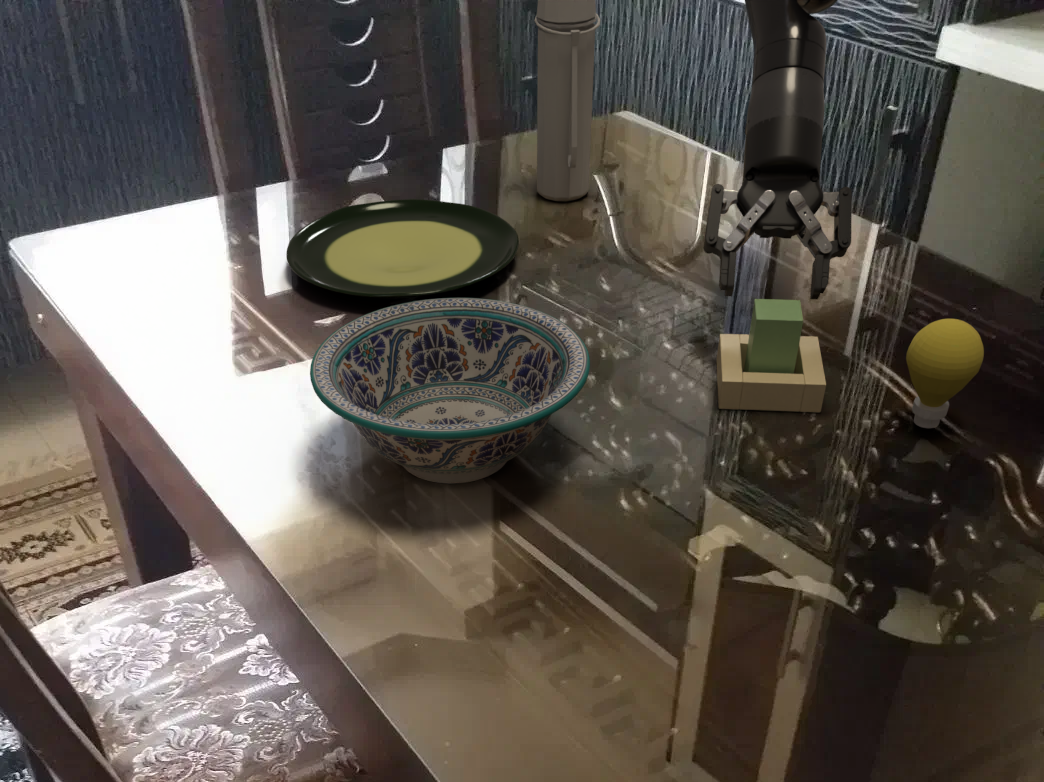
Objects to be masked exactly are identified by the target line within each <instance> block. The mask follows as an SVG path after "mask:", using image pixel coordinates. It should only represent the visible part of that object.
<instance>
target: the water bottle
mask: <svg viewBox="0 0 1044 782" xmlns="http://www.w3.org/2000/svg"><path fill="white" fill-rule="evenodd" d="M596 7H597V6H596V0H537V9H536V15H535V17H534V20H533V21H534V23H535V25H536V26H537V96H536V97H537V101H536V102H537V104H536V105H537V106H536V107H537V108H536V109H537V111H536V112H537V113H536V115H537V116H536V117H537V118H536V120H537V121H536V192H537V193H538V194H539V195H540V196H541V197H543V198H544V199H546V200H550V201H552V202H553V201H554V202H571V201H576V200H579V199H581V198H582V197H584V196H586V195H587V194H588V193H589V190H590V171H591V170H590V169H591V148H592V147H591V145H592V121H593V120H592V119H593V95H594V93H593V92H594V68H595V67H594V66H595V44H596V43H595V41H596V29H598V28H599V27H600V26H601V18H600V16H599V14H598V13H597V8H596ZM595 23H596V24H595Z"/></svg>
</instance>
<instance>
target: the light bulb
mask: <svg viewBox="0 0 1044 782" xmlns="http://www.w3.org/2000/svg"><path fill="white" fill-rule="evenodd" d="M984 355H985V348H984V344H983V341H982V337H981V335H980V334H979V332H978V331H977V330H976V328H974V327H973V326H972V324H969V323H968V322H966V321H964V320H961V319H957V318H942V319H937V320H935V321H932V322H929V323H928V324H927V325H925V326H924V327H923V328H921V329H920V330H919V331H918V332H917V333H916V334H915V335H914V337H913V338H912V340H911V343H910V344H909V346H908V349H907V351H906V356H905V360H906V364H907V369H908V372H909V376H910V381H911V383H912V385H913V386H912V387H913V388H914V390H915V392H916V394H917V396H916V397H914V400H913V403H912V407H911V411H912V413H913V414H914V418H913V423H914V425H916V426H917V427H920V428H923V429H934V428H937V427H938V426H939V425H940V422H941V419H944V418H945V417H946V416H947V415H948V411H949V408H950V402H949V400H951V399H952V398H953V397H954V396H956V395H957V394H958V393H959V392H961V391H962V390H963V389H964V388H965V387H966V386H967V385H968V384H969V383H970V382H971V380H972V379H974V378H975V376H976V375H977V374H978V373H979V371H980V370H981V366H982V364H983V361H984Z"/></svg>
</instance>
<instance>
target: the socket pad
mask: <svg viewBox="0 0 1044 782" xmlns="http://www.w3.org/2000/svg"><path fill="white" fill-rule="evenodd" d="M748 340H749V334H743V333H741V334H737V333H736V334H735V333H720V334H719V338H718V346H717V353H716V360H715V361H716V381H717V402H718V405H717V406H718V410H745V411H772V412H795V413H797V412H800V413H821V412H822V408H823V403H824V397H825V393H826V389H827V380H826V375H825V370H824V364H823V358H822V354H821V346H820V343H819V341H820V340H819V336H809V335H808V336H806V335H805V336H804V335H801V336H800V342H799V347H798V353H797V358H796V364H795V369H794V374H785V373H755V372H744V367H745V360H746V353H747V347H748Z"/></svg>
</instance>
